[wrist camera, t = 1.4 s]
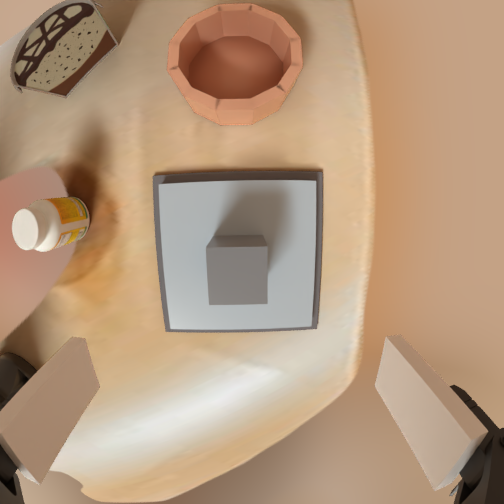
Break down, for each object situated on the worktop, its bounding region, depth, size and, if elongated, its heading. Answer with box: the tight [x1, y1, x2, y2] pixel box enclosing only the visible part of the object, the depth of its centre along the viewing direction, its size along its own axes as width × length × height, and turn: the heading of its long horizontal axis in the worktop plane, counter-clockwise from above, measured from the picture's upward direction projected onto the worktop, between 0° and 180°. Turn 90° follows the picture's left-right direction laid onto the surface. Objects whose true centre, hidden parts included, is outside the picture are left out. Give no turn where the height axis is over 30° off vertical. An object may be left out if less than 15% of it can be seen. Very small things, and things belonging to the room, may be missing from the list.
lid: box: [159, 180, 316, 330], centre depth 28 cm, size 16×16×7 cm
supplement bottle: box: [12, 197, 90, 252], centre depth 25 cm, size 5×5×10 cm
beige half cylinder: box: [11, 0, 119, 98], centre depth 21 cm, size 12×6×10 cm, turn 131°
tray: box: [153, 171, 323, 332], centre depth 31 cm, size 18×18×1 cm
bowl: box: [167, 3, 303, 125], centre depth 24 cm, size 12×12×6 cm
